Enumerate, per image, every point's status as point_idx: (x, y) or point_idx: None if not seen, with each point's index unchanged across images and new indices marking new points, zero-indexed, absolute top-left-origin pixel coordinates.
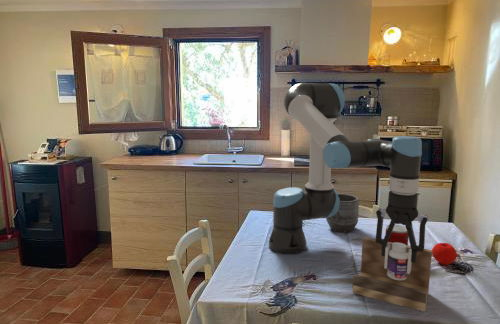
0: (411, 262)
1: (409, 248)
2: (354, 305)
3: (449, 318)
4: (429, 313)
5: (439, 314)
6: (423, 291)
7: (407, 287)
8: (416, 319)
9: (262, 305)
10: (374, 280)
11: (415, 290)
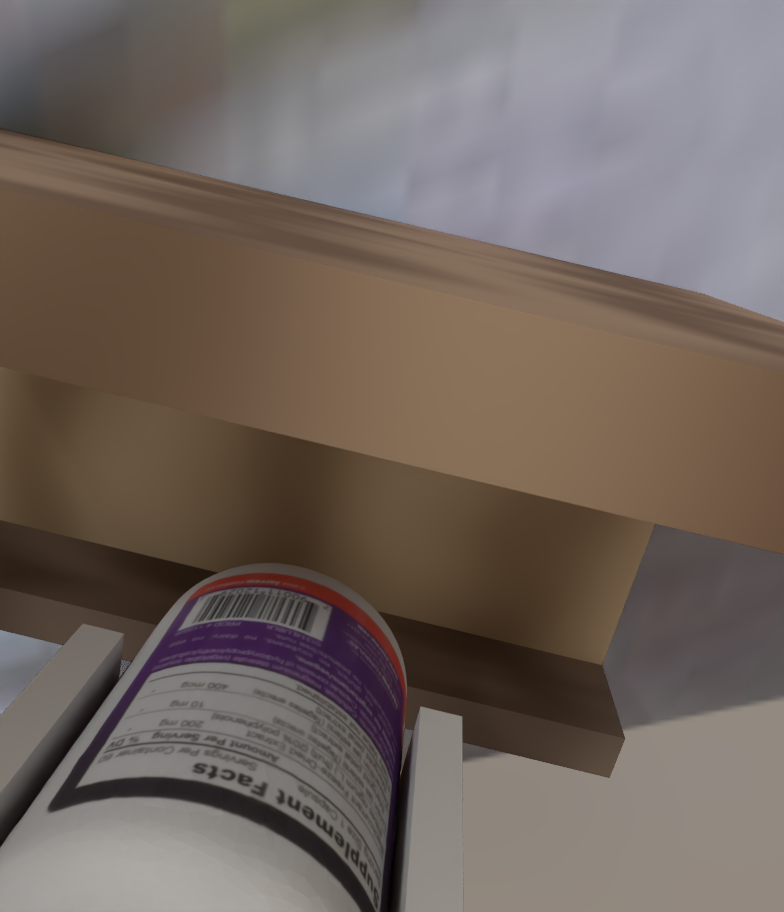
0: (461, 828)
1: (478, 476)
2: (21, 688)
3: (762, 690)
4: (610, 658)
5: (694, 653)
6: (586, 742)
7: (420, 696)
8: (485, 757)
9: None
10: (59, 630)
11: (500, 738)
